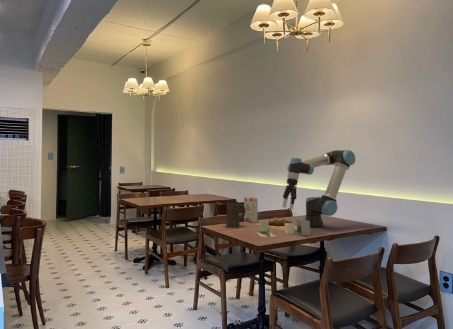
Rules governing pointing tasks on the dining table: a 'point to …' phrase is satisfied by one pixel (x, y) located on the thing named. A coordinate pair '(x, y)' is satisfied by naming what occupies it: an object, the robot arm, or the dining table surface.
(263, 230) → the seated sleeve
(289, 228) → the sleeve
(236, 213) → the beer stein
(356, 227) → the dining table surface
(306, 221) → the feeder chute
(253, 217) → the cracker box
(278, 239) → the dining table surface
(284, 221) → the cutting board
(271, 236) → the pin board
